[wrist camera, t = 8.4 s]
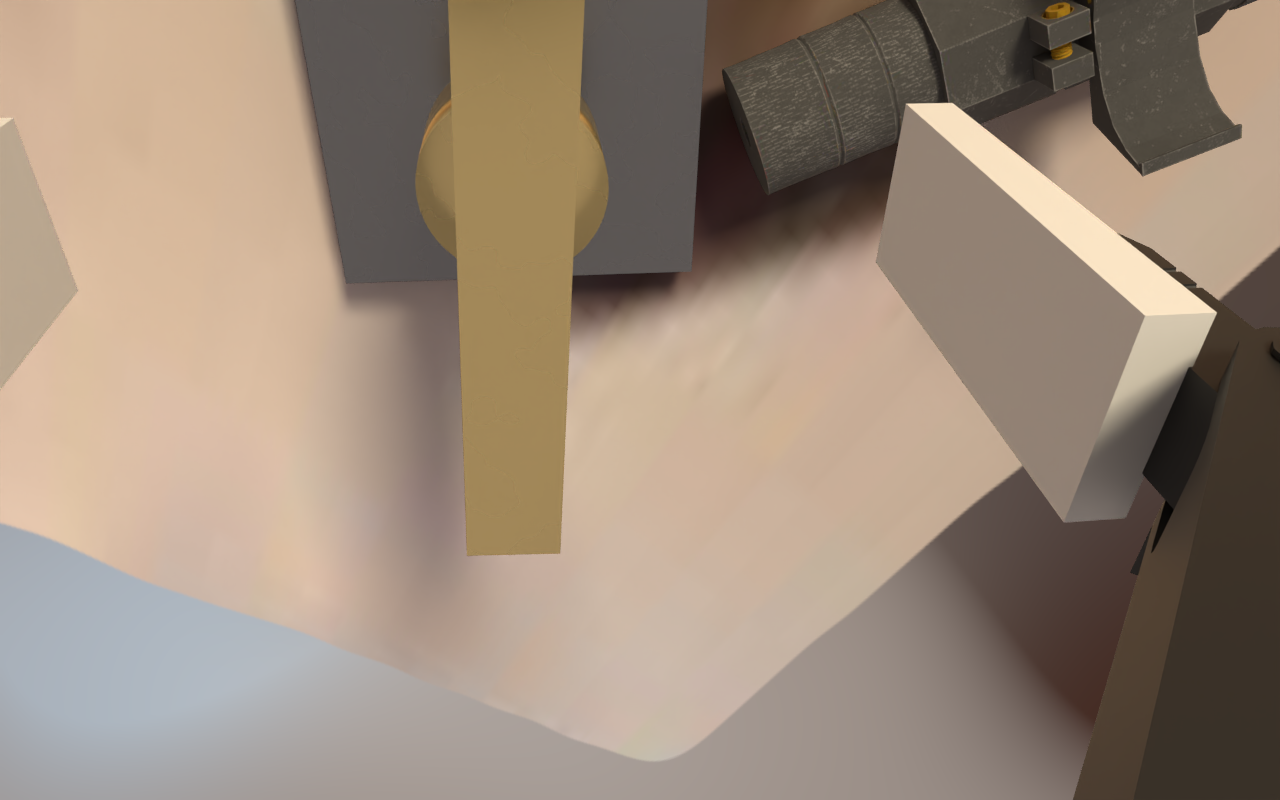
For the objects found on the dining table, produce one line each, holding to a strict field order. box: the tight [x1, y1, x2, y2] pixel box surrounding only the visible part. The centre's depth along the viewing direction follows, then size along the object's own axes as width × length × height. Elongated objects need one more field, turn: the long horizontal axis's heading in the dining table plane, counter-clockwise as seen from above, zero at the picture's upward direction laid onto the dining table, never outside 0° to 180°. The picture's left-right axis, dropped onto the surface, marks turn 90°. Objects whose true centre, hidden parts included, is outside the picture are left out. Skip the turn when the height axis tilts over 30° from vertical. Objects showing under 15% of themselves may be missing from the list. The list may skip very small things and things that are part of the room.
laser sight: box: [722, 0, 1257, 195], centre depth 36 cm, size 10×22×10 cm, turn 111°
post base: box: [295, 0, 707, 283], centre depth 37 cm, size 16×16×7 cm
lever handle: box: [415, 0, 609, 556], centre depth 29 cm, size 6×16×13 cm, turn 175°
